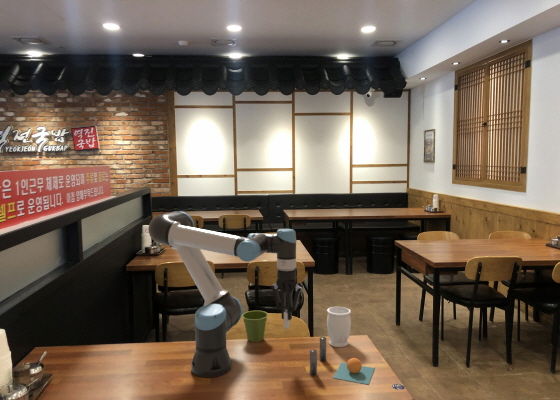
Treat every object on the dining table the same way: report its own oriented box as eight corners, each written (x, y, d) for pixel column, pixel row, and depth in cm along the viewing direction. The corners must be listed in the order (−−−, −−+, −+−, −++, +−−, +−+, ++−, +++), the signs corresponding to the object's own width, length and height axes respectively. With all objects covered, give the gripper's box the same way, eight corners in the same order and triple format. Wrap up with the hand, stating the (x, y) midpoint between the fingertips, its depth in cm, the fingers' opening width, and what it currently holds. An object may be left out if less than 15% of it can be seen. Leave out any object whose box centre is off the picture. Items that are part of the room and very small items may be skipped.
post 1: (308, 375, 158) (308, 351, 157) (311, 372, 160) (311, 348, 160) (315, 376, 157) (315, 352, 156) (317, 373, 159) (317, 350, 159)
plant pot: (260, 332, 199) (260, 308, 198) (273, 341, 189) (273, 316, 188) (237, 337, 193) (237, 313, 192) (249, 346, 183) (248, 321, 182)
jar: (350, 349, 180) (350, 315, 179) (325, 347, 182) (325, 313, 181) (351, 339, 190) (351, 306, 189) (327, 337, 192) (328, 305, 191)
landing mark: (332, 378, 156) (332, 377, 156) (341, 362, 168) (341, 362, 168) (368, 384, 151) (368, 384, 151) (374, 368, 163) (374, 368, 163)
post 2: (318, 360, 170) (318, 338, 169) (320, 358, 172) (320, 336, 171) (325, 361, 169) (325, 339, 168) (326, 359, 171) (326, 337, 170)
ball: (362, 375, 156) (347, 377, 158) (364, 368, 161) (350, 370, 163) (357, 360, 156) (343, 362, 158) (360, 354, 161) (346, 356, 163)
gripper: (267, 269, 165) (267, 328, 167) (299, 272, 160) (299, 333, 162) (274, 265, 172) (275, 321, 174) (305, 267, 167) (305, 326, 169)
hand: (286, 327), depth 168 cm, fingers closed
